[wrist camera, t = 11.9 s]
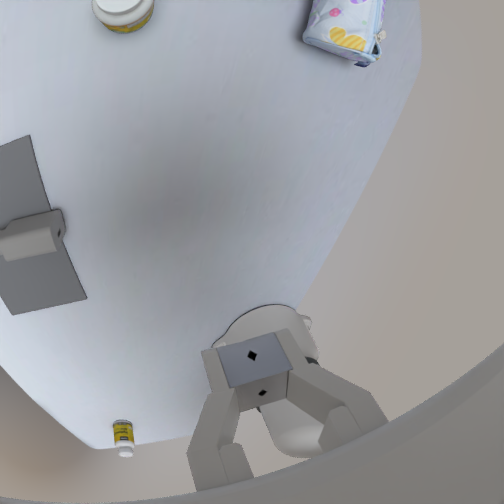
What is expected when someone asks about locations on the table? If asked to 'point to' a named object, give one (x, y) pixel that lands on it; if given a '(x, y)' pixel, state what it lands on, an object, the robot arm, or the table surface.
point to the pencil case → (347, 28)
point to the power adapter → (32, 236)
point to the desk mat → (40, 266)
